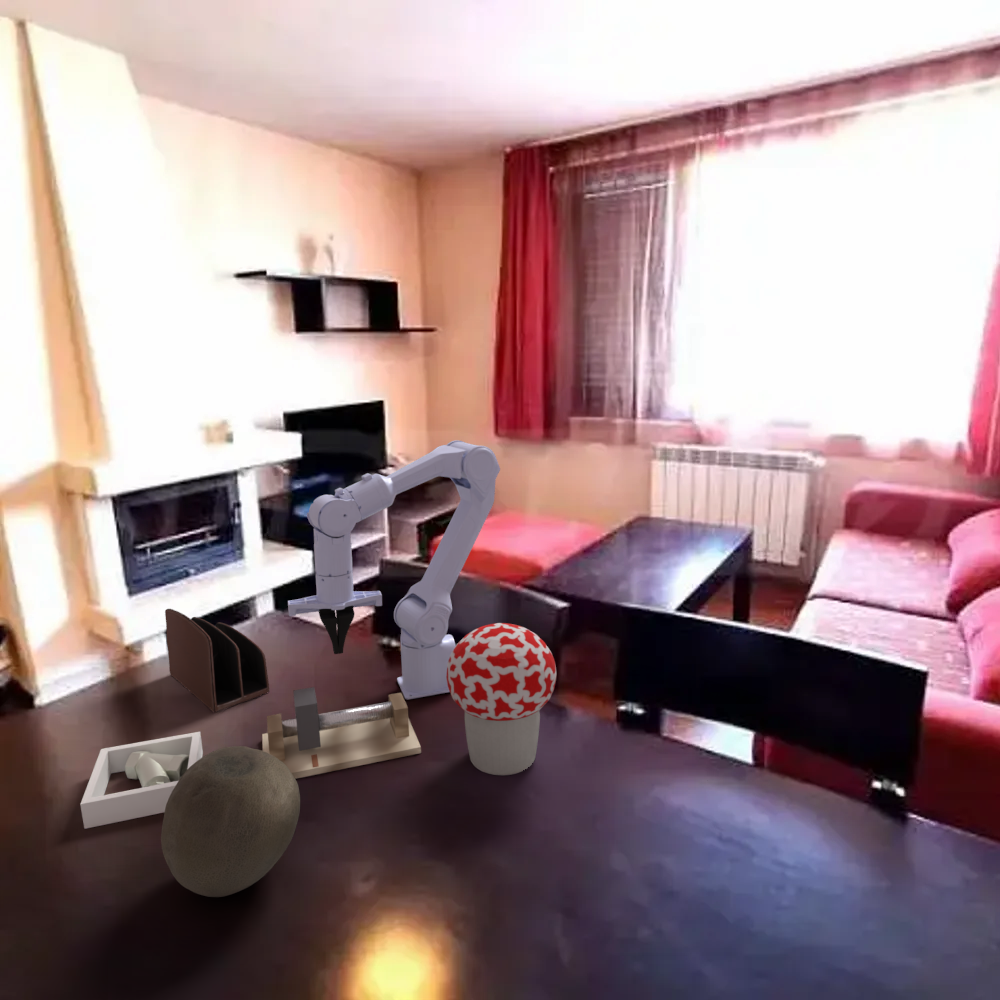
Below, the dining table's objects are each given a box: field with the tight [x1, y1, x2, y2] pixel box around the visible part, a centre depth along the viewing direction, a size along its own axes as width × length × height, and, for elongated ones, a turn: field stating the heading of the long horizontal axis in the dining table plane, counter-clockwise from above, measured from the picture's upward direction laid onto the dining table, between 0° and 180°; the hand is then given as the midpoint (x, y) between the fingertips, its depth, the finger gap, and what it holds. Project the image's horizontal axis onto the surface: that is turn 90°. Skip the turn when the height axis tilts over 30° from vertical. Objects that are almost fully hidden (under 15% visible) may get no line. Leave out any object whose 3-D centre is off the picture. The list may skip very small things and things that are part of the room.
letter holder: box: [164, 608, 270, 713], centre depth 124 cm, size 10×20×14 cm, turn 44°
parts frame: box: [79, 731, 204, 830], centre depth 95 cm, size 13×13×4 cm
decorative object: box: [446, 622, 557, 776], centre depth 100 cm, size 16×16×20 cm
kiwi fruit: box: [160, 745, 301, 898], centre depth 78 cm, size 14×14×15 cm
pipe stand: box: [261, 692, 422, 780], centre depth 104 cm, size 22×12×6 cm, turn 109°
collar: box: [293, 686, 321, 751], centre depth 102 cm, size 3×5×7 cm, turn 19°
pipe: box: [282, 701, 393, 738], centre depth 104 cm, size 20×3×3 cm, turn 109°
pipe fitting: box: [124, 751, 189, 788], centre depth 96 cm, size 8×4×7 cm
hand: (338, 651), depth 113 cm, fingers closed
